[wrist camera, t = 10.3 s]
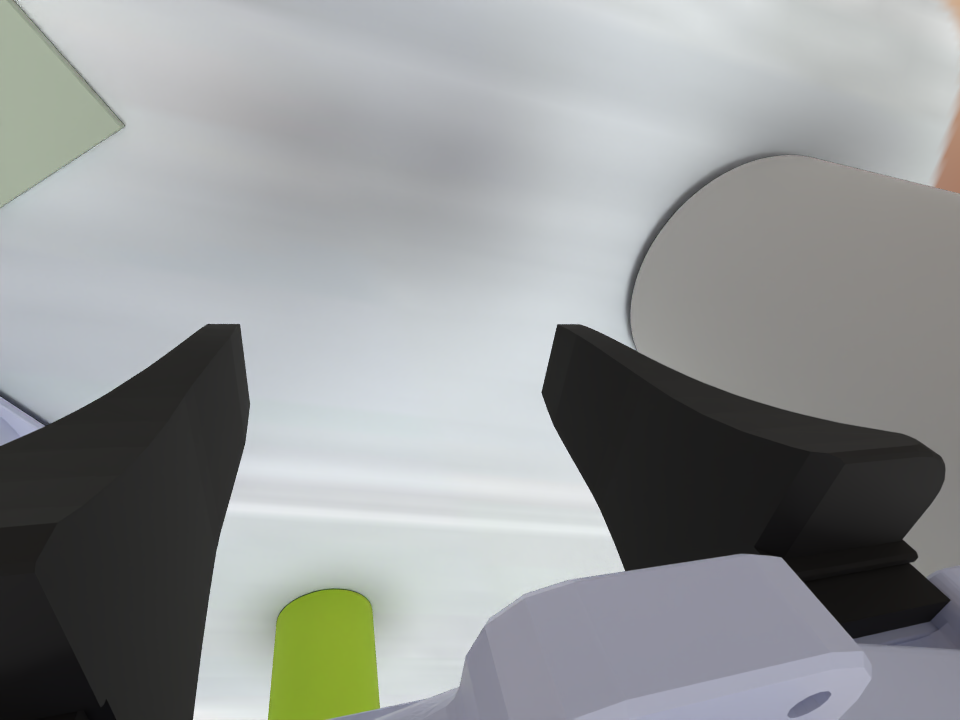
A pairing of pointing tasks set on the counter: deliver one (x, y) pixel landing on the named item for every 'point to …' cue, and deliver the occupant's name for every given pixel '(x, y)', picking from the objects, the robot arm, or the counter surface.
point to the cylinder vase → (819, 307)
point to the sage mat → (41, 107)
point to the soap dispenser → (324, 658)
